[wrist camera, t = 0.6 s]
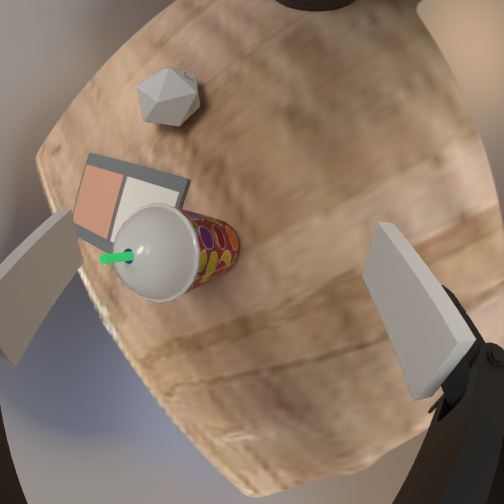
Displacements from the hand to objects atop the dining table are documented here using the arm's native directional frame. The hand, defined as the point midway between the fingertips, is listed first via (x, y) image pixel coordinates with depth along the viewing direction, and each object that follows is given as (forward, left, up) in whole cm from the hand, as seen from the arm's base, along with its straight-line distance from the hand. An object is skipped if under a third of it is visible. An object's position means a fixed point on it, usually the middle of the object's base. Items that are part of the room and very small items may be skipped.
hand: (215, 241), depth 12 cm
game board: (+4, -26, -23) cm, 35 cm away
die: (-13, -21, -24) cm, 34 cm away
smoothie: (+4, -9, -23) cm, 25 cm away
